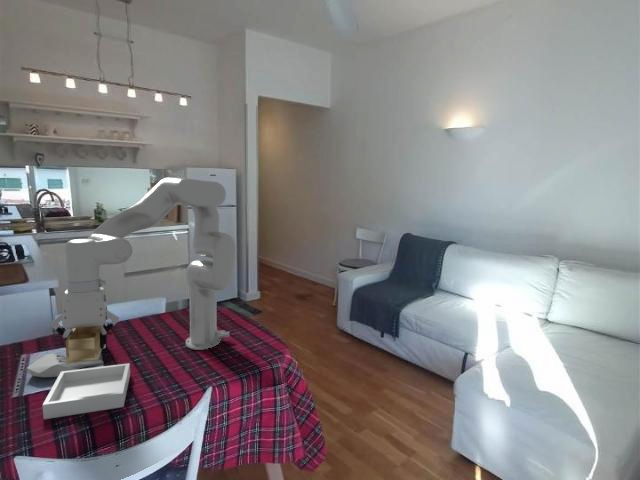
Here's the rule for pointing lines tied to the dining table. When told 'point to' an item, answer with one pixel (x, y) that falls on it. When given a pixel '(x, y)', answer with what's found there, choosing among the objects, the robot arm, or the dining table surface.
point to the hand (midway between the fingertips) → (86, 347)
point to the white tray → (87, 391)
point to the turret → (56, 365)
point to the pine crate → (83, 344)
